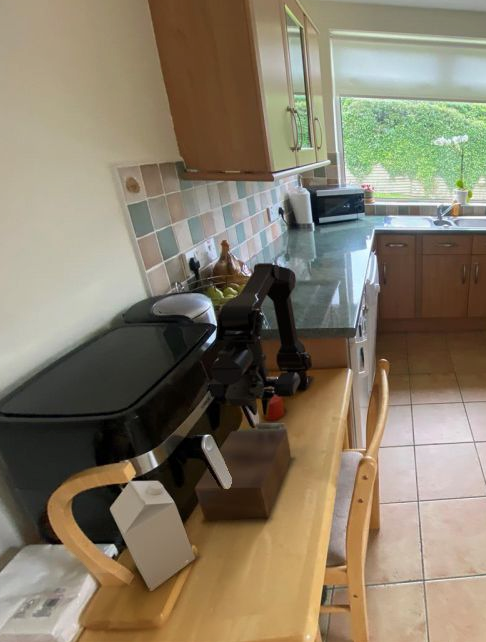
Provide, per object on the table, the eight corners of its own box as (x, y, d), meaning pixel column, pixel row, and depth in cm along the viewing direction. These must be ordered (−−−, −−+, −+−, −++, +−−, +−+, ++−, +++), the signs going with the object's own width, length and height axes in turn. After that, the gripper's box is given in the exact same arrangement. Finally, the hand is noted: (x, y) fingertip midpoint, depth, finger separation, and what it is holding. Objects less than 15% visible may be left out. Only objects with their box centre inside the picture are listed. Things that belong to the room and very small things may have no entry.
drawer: (251, 438, 95) (246, 415, 92) (296, 437, 96) (292, 415, 93) (214, 505, 78) (206, 479, 75) (269, 503, 78) (263, 478, 75)
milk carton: (151, 592, 63) (115, 516, 56) (136, 566, 67) (101, 491, 60) (195, 559, 69) (168, 485, 61) (179, 536, 72) (152, 463, 65)
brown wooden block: (238, 460, 90) (231, 431, 86) (291, 459, 90) (286, 430, 87) (205, 520, 76) (194, 488, 72) (268, 519, 76) (260, 487, 72)
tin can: (268, 408, 107) (265, 392, 105) (286, 408, 108) (283, 392, 105) (262, 420, 103) (258, 404, 101) (280, 420, 103) (277, 404, 101)
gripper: (184, 379, 73) (202, 439, 80) (280, 378, 74) (290, 438, 81) (212, 350, 84) (226, 405, 90) (296, 349, 84) (304, 405, 91)
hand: (260, 414), depth 87 cm, fingers closed
